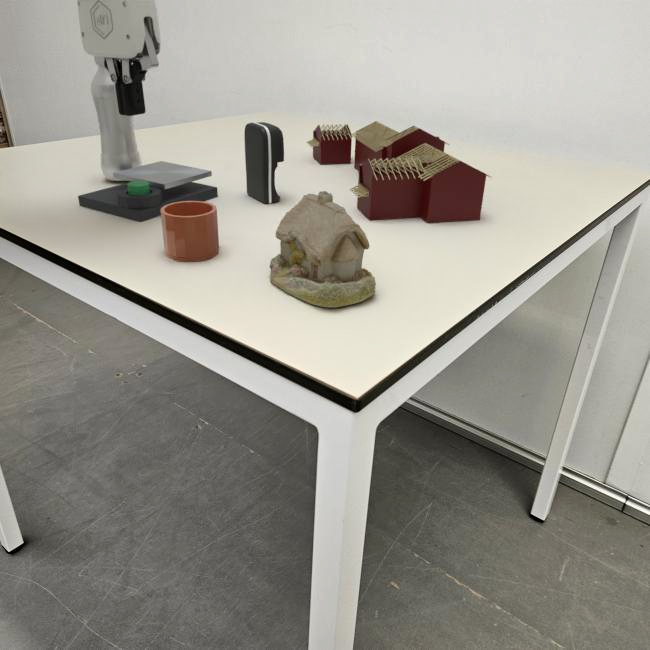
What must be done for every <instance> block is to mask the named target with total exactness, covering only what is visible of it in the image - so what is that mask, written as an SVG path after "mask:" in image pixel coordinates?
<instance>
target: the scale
mask: <svg viewBox="0 0 650 650" xmlns="http://www.w3.org/2000/svg"><path fill="white" fill-rule="evenodd" d="M128 183H130V181H128V182H126V183H125V182H124V183H121V184H118V185H114V186H110V187H107V188H102V189H99V190H95V191H91V192H86V193H83V194H80V195H77V198H78V204H79V207H83V208H85V209H90V210H94V211H97V212H101V213H104V214H108V215H112V216H116V217H118V218H119V217H120V218H124V219H127V220H130V221H134V222H138V223H142V222H146V221H149V220H151V219H155V218H158V217H161V208H162V207H163V206H165V205H167V204H171V203H174V202H181V201H203V202H206V201H210V200H212V199H216V198H218V196H219V193H218V186H213V185H208V184H204V183H199V182H196V181H193V182H189V183H186V184H182V185H179V186H175V187H172V188H168V189H161V188H156V187H152V186H150V194H147V195H139V196H137V195H129V193H128V186H127V184H128Z"/></svg>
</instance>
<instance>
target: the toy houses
mask: <svg viewBox="0 0 650 650" xmlns="http://www.w3.org/2000/svg"><path fill="white" fill-rule="evenodd" d="M353 138H354V139H355V143H354V144H355V145H354V161H353V162H354V164H353V168H354V169H355V170H357V171H358V179H357V180H358V182H357V185H355V186H353V187H350V188H349V191H351V192H352V193H353V194H354V196H356V197H357V198H356V199H357V201H356V208H357V210H359V212H360V213H361V214H362V215H364V217H366V219H368V220H369V221H378V220H397V219H412V218H413V219H416V218H417V219H418V218H420V219H422V220H423V221H424V222H425V223H426V224H433V223H449V222H451V223H452V222H464V221H465V222H466V221H480V219H481V214H482V206H483V201H484V194H485V188H486V182H487V177H488V178H489V179H492V177H493V176H491V175H489V174H488V173H485V172H483V171H481V170H480V169H477V168H475V167H474V166H471V165H470V164H467V163H466V162H465V161H462V160H460V159H458V158H456V157H454V156H452V155H451V154H448V153H447V152H445V144H446V145H447V146H450V143H448V142H446V141H445V140H442V139H441V138H440V137H439V136H437V135H436V136H435V135H434V134H431V133H429V132H427V131H426V130H424V129H422V128H420V127H418V126H416V125H412V126H410V127H408V128H406V129H404V130H402V131H399V132H398V131H397V130H396V129H393V128H391V127H389V126H387V125H385V124H383V123H382V122H379V121H377V120H375V121H374V122H371V123H369V124H367V125H365V126H364V127H362V128H359V129H357V130H355V132H353V133H352V132H351V129H350V126H349V124H348V123H344V124H342V123H341V124H340V123H339V124H337V123H336V124H335V125H334V124H331V125H330V124H322V126H320V124H318V125H317V126H316V127H315V129H314V130H313V131H312V138H311V139H310V140H308V141H306V144H308V145H309V146H310V147H311V148H312V158H313V159H314V160H315V161H316V162H317V163H318V164H320V165H338V164H339V165H343V164H347V165H348V164H352V163H351V162H352V161H351V160H352V140H353Z"/></svg>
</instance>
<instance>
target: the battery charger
mask: <svg viewBox="0 0 650 650" xmlns="http://www.w3.org/2000/svg"><path fill="white" fill-rule="evenodd" d="M244 160H245V175H246V176H245V177H246V193H247V195H249V196H250V197H252V198H254V199H255V200H257V201H259V202H261V203H263V204H272V203H276V202H279V201H280V200H281V196H280V195H279V194H278V192H277V189H276V183H275V181H276V180H275V179H276V170H277V168H278V165H279V163H282V162H283V163H284V161H285V143H284V134H283V131H282V130H281V128H280V127H278V126H277V125H274V124H272V123H269V122H265V121H259V122H255V121H253V122H252V121H251V122H248V123H246V125H245V127H244Z"/></svg>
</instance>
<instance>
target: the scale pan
mask: <svg viewBox="0 0 650 650" xmlns="http://www.w3.org/2000/svg"><path fill="white" fill-rule="evenodd" d="M212 176H213V172H212V170H209V169H203V168H199V167H198V168H197V167H193V166H189V165H183V164H178V163H173V162H168V161H162V160H159V161H155V162H151V163H147V164H142V166H139V167H134V168H130V169H126V170H122V171H118V172H114V173H113V177H114V178H117V179H121V180H126V181H125V182H134V181H146V182H149V185H150V186H152V187H156V188H161V189H168V188H172V187H175V186H179V185H182V184H186V183H189V182H196V181H199V180H203V179H206V178H210V177H212Z"/></svg>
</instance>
